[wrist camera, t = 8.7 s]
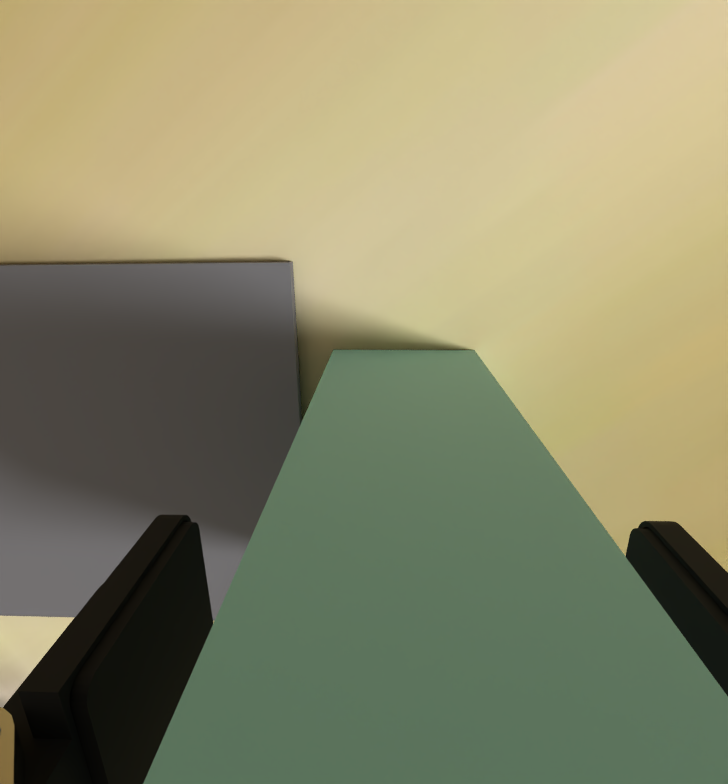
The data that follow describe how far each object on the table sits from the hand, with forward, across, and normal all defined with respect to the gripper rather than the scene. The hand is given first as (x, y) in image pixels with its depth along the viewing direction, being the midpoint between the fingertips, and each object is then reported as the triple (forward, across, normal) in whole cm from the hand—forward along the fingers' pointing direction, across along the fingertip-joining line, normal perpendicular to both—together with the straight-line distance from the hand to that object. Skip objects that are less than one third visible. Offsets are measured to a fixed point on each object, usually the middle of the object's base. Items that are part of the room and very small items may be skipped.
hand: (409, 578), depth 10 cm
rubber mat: (+5, +9, 0) cm, 10 cm away
